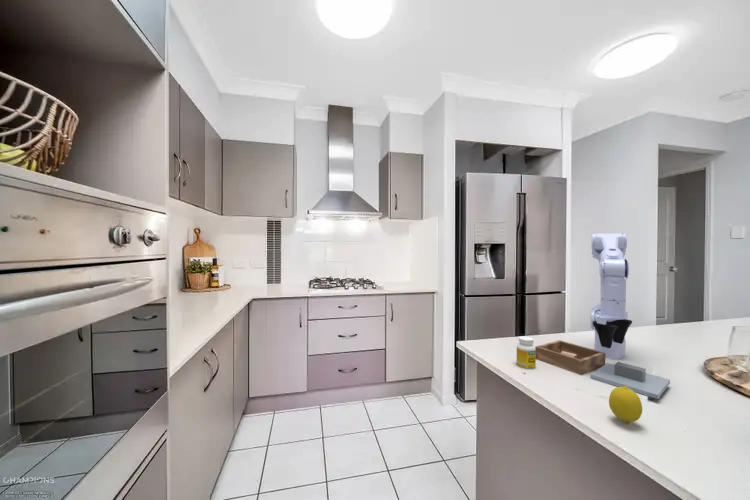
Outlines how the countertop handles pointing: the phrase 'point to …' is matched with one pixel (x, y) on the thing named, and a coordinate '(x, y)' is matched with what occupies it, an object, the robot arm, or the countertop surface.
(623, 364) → the lid
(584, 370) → the box
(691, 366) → the countertop surface
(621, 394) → the lemon
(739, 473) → the countertop surface
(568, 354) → the block
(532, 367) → the supplement bottle
